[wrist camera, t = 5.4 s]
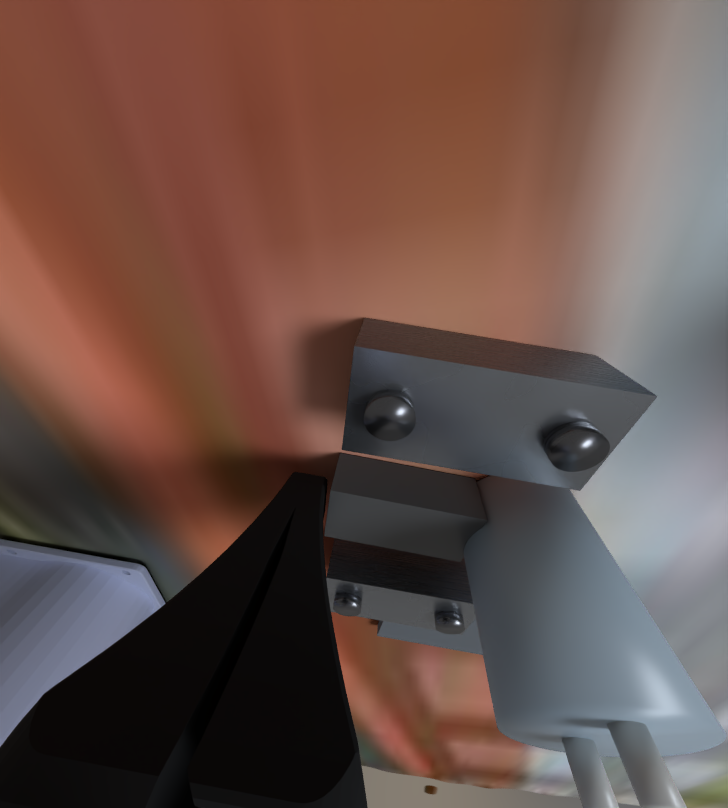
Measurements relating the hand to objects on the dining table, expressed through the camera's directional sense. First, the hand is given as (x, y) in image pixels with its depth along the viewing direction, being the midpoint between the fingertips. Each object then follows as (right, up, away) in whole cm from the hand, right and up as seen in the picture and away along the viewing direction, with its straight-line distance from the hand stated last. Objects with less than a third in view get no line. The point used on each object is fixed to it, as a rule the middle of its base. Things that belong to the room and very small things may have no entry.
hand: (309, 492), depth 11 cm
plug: (+6, 0, +1) cm, 6 cm away
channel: (+4, 0, +1) cm, 5 cm away
